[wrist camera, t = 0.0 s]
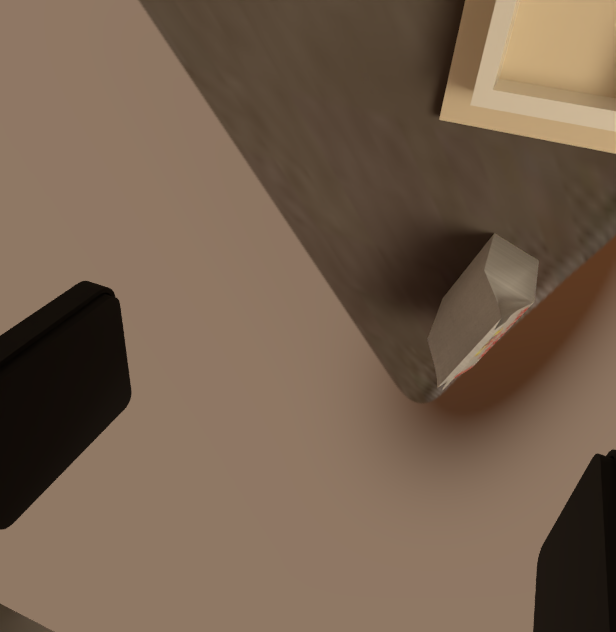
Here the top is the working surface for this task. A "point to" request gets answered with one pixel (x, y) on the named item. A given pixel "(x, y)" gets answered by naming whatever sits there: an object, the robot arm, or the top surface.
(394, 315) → the top surface
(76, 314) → the robot arm
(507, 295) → the white carton
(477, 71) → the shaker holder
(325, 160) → the top surface
